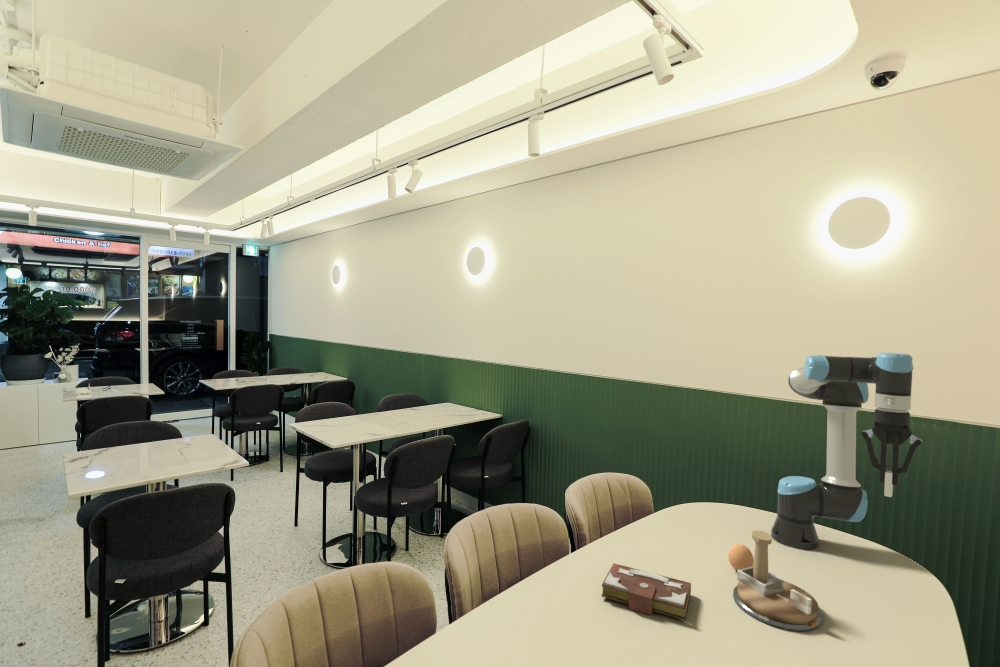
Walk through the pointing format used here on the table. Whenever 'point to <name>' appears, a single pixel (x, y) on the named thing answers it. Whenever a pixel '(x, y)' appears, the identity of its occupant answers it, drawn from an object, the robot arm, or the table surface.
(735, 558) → the egg
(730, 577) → the table surface
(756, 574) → the handle
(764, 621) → the base
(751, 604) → the dial
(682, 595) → the book
